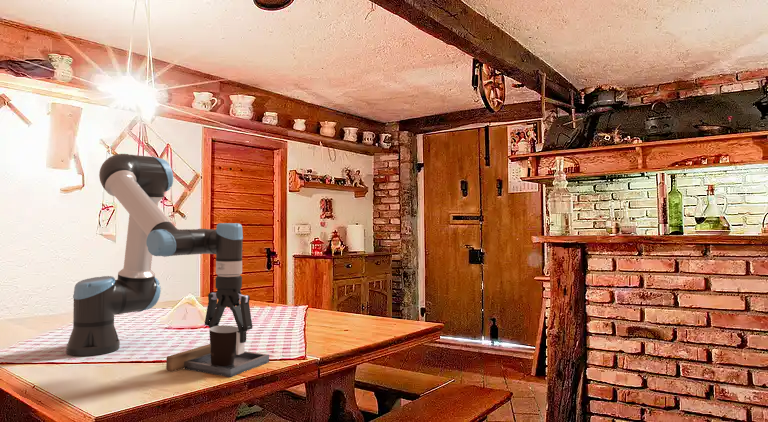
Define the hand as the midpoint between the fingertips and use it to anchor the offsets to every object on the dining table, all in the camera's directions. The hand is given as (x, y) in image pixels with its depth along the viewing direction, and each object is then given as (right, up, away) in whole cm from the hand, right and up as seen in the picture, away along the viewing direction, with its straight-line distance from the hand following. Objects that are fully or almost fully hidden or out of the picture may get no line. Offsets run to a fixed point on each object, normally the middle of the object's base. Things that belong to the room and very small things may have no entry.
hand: (227, 351), depth 155 cm
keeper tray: (0, -4, 0) cm, 4 cm away
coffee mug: (-1, -3, 0) cm, 3 cm away
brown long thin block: (-10, -4, +3) cm, 11 cm away
